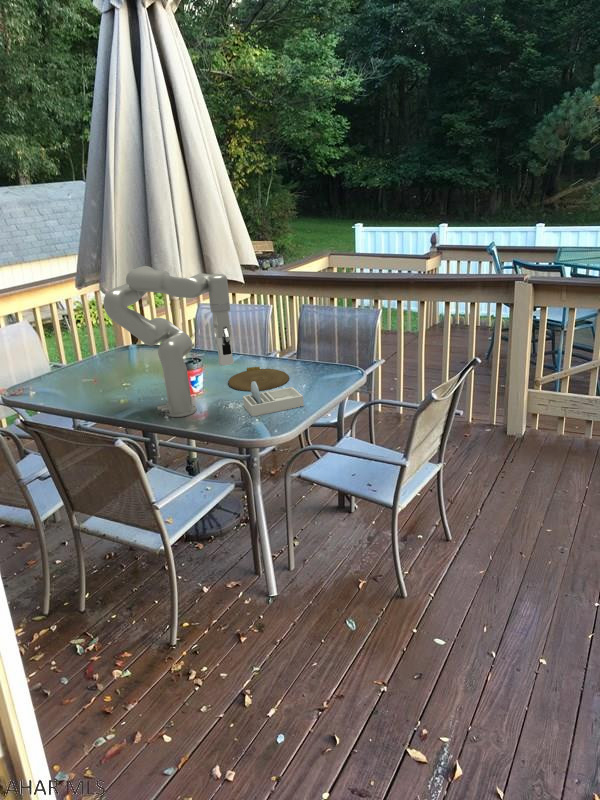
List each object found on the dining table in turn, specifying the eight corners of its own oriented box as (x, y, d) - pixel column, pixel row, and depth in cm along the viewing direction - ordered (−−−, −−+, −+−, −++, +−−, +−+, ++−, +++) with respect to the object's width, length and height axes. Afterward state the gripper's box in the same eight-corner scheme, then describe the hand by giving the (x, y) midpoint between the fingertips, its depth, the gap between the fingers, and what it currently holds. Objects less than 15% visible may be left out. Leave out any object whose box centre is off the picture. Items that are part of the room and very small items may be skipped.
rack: (252, 416, 249) (249, 388, 245) (243, 406, 260) (240, 379, 256) (303, 406, 255) (301, 378, 251) (293, 396, 267) (291, 370, 263)
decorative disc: (237, 392, 273) (220, 371, 299) (238, 399, 274) (220, 378, 300) (298, 380, 282) (276, 361, 308) (298, 387, 283) (276, 367, 309)
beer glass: (215, 366, 244) (211, 328, 238) (220, 360, 250) (215, 324, 245) (232, 365, 243) (228, 328, 237) (236, 360, 249) (233, 323, 244)
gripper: (205, 304, 245) (210, 348, 251) (215, 312, 230) (220, 359, 236) (224, 302, 247) (229, 345, 253) (235, 310, 232) (239, 356, 238)
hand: (224, 351), depth 245 cm, fingers closed on beer glass, 6 cm apart
